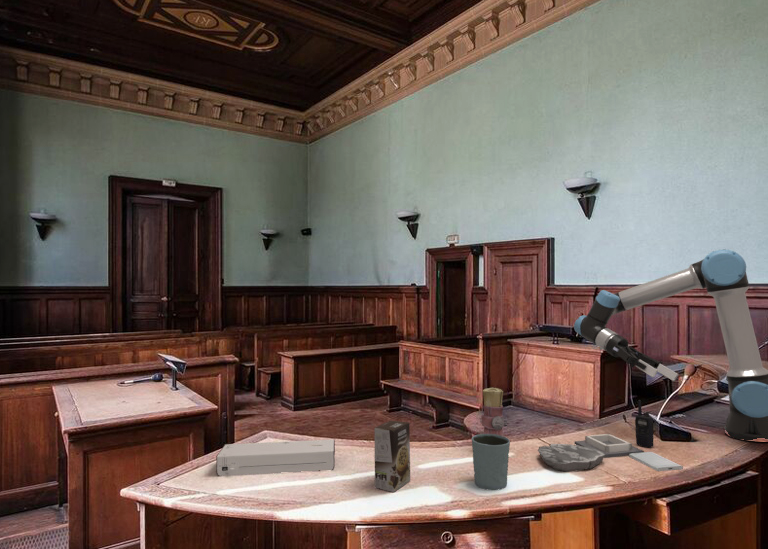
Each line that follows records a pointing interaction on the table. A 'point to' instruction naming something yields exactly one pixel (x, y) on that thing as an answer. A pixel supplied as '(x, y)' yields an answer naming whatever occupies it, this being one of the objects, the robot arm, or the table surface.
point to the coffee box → (392, 455)
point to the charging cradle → (609, 445)
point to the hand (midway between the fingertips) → (666, 375)
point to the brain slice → (570, 457)
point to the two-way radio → (643, 428)
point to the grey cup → (490, 460)
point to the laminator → (275, 457)
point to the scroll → (492, 411)
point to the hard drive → (655, 461)
